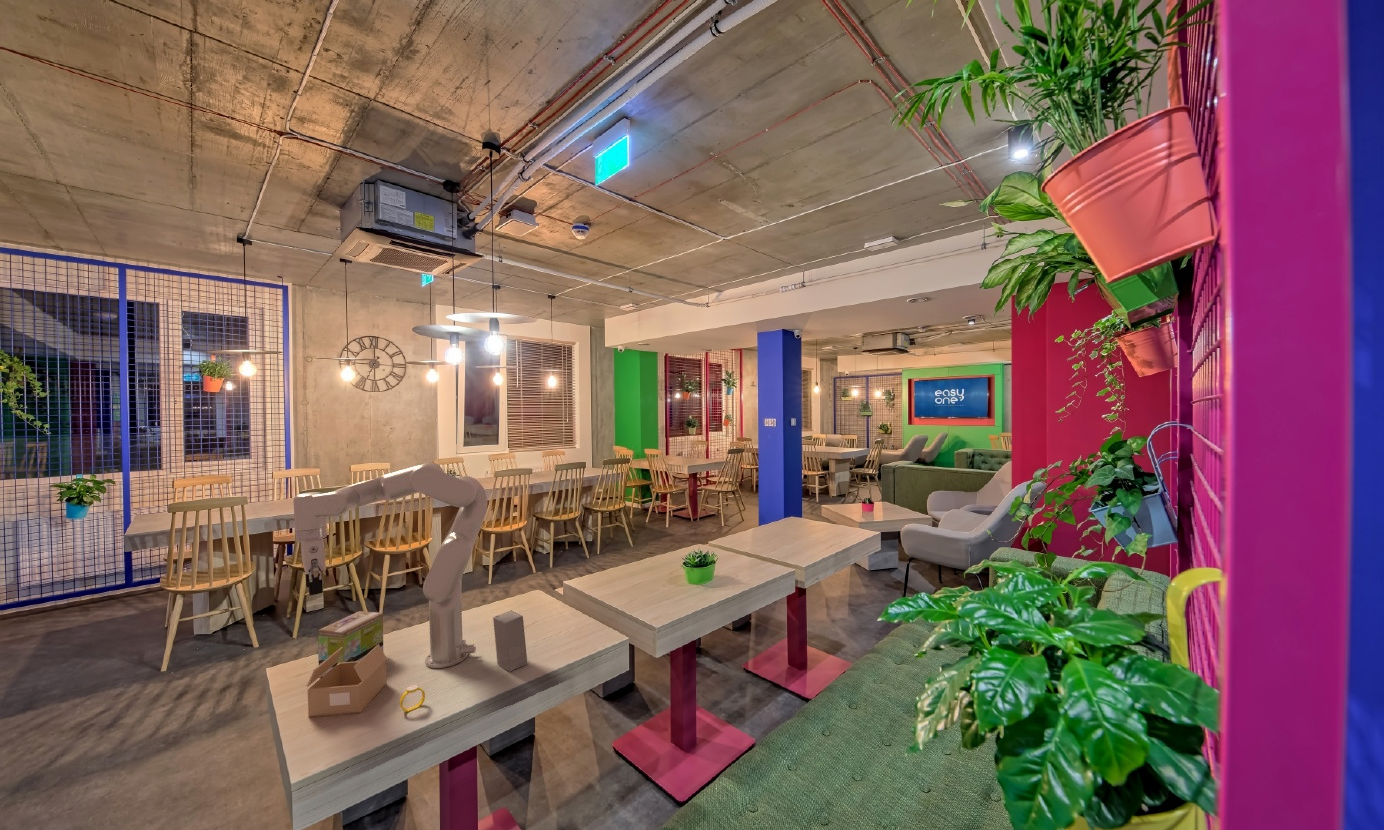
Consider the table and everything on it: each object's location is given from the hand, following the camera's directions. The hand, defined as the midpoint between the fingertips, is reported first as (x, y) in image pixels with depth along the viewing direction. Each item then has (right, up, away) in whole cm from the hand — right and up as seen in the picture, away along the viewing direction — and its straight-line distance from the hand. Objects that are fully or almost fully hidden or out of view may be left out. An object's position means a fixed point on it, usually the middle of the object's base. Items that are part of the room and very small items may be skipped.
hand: (314, 589), depth 149 cm
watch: (+38, -28, -15) cm, 49 cm away
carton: (+18, -28, -10) cm, 34 cm away
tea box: (+6, -28, +9) cm, 30 cm away
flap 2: (+23, -18, -9) cm, 30 cm away
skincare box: (+57, -27, +7) cm, 63 cm away
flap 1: (+12, -18, -11) cm, 24 cm away
